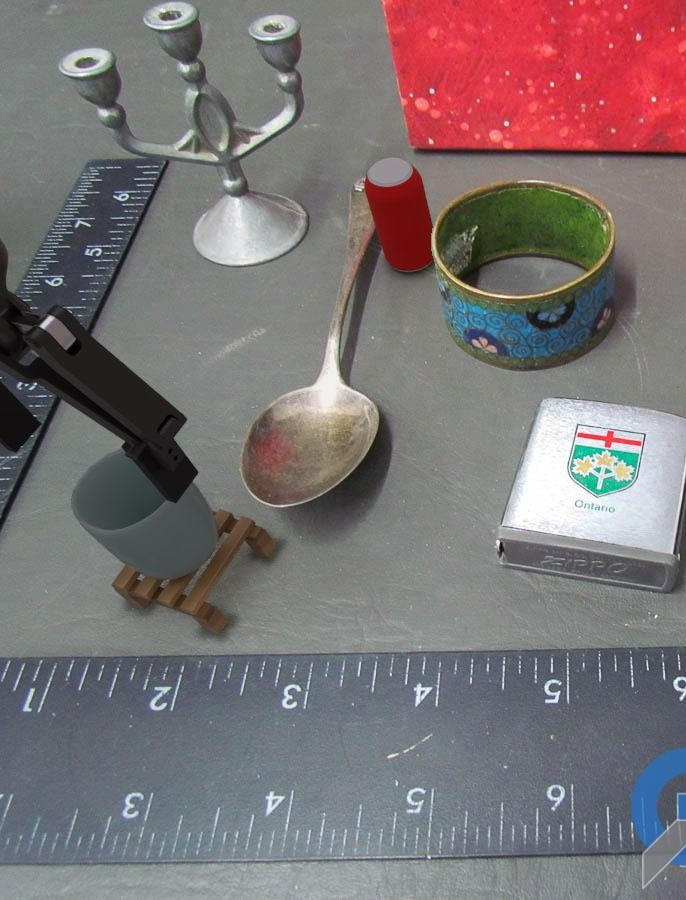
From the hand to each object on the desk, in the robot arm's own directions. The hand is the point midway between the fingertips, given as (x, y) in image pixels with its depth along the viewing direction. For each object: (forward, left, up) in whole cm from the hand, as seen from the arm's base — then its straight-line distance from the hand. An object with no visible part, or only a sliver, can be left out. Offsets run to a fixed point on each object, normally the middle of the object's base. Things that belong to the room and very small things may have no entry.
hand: (102, 461), depth 59 cm
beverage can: (0, +42, -17) cm, 46 cm away
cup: (+1, 0, -13) cm, 13 cm away
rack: (+1, 0, -17) cm, 17 cm away
